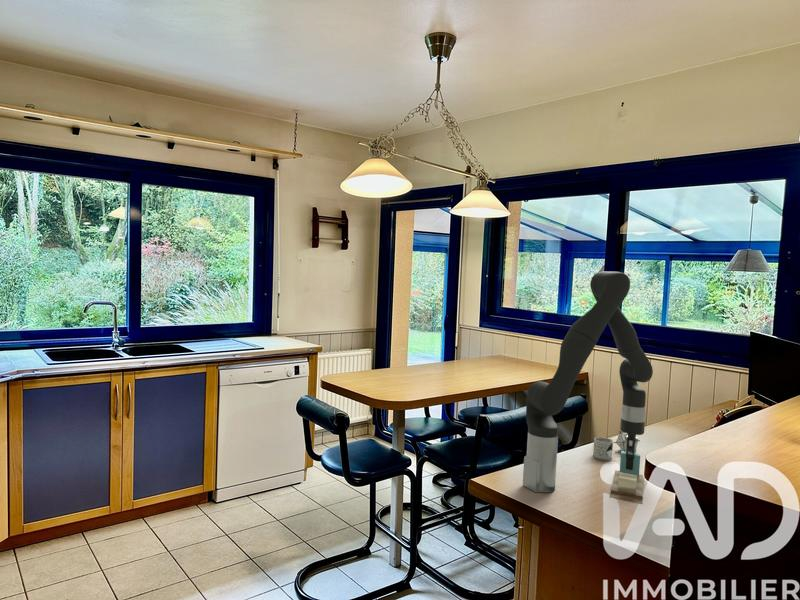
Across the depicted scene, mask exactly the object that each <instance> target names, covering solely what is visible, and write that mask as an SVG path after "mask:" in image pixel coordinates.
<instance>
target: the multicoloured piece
mask: <svg viewBox="0 0 800 600" xmlns="http://www.w3.org/2000/svg"><path fill="white" fill-rule="evenodd" d="M628 454H630V455H633V453H630V452H628ZM625 455H626V451H625V452H624V451H623V450H621V451H620V460H619V461H620V463H619V470H617V469H614V470H615V471H614V474H613V479H612V484H611V487H610V488H611V489H610V491H609V498H611V499H614V500H615V499H616V500H619V501H620V500H621V501H625V502H629V503H630V502H631V503H635V504H640V505H643V504H644V503H643V501H644V485H645V484H644V481H645V480H644V479H645V476H644V477H643V474H640V466H641V453H637V452H636V453H634V456H635V458H634V461H633V470H628V469H626V456H625ZM620 472H621V473H627V474H632V475H637V484H636V494H631V493H626V492H621V491H618V480H619V473H620Z"/></svg>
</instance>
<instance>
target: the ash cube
mask: <svg viewBox="0 0 800 600" xmlns="http://www.w3.org/2000/svg"><path fill="white" fill-rule="evenodd" d="M636 484H637V475H632V474H627V473H621V472H620V473H619V480H618V491H621V492H626V493H631V494H636Z"/></svg>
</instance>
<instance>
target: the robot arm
mask: <svg viewBox="0 0 800 600" xmlns="http://www.w3.org/2000/svg"><path fill="white" fill-rule="evenodd" d="M589 285H590V291H591V294H592V295H593V298H594V300H595V301H596V302H595V304H593V307H591V309H590V310H588V311H587V312H585V314H583V315H582V316H581V317H579V318H578V319H577V320H576V321H575V322H574V323H572V325H571V326H570V328H569V329H568V331H567V333H566V335H565V336H564V338H563V340H562V341H561V344H560V349H559V362H558V366H557V369H556V371H555V373H554V374H553V377H552V379H551V381H550V382H545V381H540V380H539V381H535V382H533V383H532V384H531V385H530V386H529V388H528V389H527V393H526V399H525V400H526V401H525V402H526V403H525V404H526V405H525V413H526V414H525V417H526V418H525V419H526V421H525V422H526V424H527V442H526V455H525V456H524V458H523V470H522V471H523V474H522V486H523V487H525V488H527V489H529V490H530V491H532V492H534V493H552V492H554V491H555V490H556V478H557V460H558V443H559V426H558V424H557V423H556V421H555V420H554V417H553V416H556V415H558V414H559V413H561V411H563V409H564V407H565V406H566V404H567V401H568V399H569V397H570V395H571V392H572V389H573V387H574V385H575V383H576V381H577V378H578V376H579V375H580V373H581V371H582V369H583V368H584V366H585V364H586V362H587V360H588V358H589V357H590V355H591V354H592V352H593V350H594V348H595V347H596V345H597V343H598V341H599V339H600V337H601V335H602V333H604V331H605V329H606V328H607V325H608V327H609V329H610V331H611V334H612V337H613V340H614V344H615V346H616V349H617V352H618V354H619V355H620V357H622V358H624V360H623V361H622V362H621V363H620V366H619V378H620V383H621V388H622V391H623V392H622V405H621V410H620V412H621V413H620V424H619V431H621V433H627V434H628V436H625V452H626V455H625V456H626V469H628V470H633V461H634V458H635V456H634V453H636V454H637V447H638V443H639V441H638V440H639V437H637V436H643V435H644V434H645V425H646V402H647V401H646V400H647V399H646V398H647V397H646V396H647V394H646V390H645V389H643V388H642V387H640V386H639V384H638V383H648V382H649V381H651V379H652V377H653V375H654V373H653V370H654V369H653V366H652V363H651V361H650V359H649V358H648V357H647V355H646V354H645V352H644V350H643V349H642V347H641V345H640V342H639V338H638V336H637V331H636V329H635V327H634V326H633V324H632V323H631V322H630V321H629V319H628V317H626V315H625V314H624V312H622V310H621V308H620V306H621V304H622V303H623V302H624V300H625V299H626V297H627V295H628V294H629V291H630V289H631V280H630V277H629V275H627V274H626V273H624V272H620V271H603V270H602V271H598V272H596V273H594V275H592V277H591V280H590V284H589ZM628 452H630V453H633V455H630V454H628Z"/></svg>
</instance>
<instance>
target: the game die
mask: <svg viewBox="0 0 800 600" xmlns="http://www.w3.org/2000/svg"><path fill="white" fill-rule="evenodd" d="M618 432H619V435H617V439H616V440H615V441H613V444H616V445H617V446H618V447H619V448H620V450H621V451H624V452H626V451H625V436H628V434H627V433H624V432H622V431H621V430H619V431H618ZM638 442H641V440H639V439H638Z"/></svg>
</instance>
